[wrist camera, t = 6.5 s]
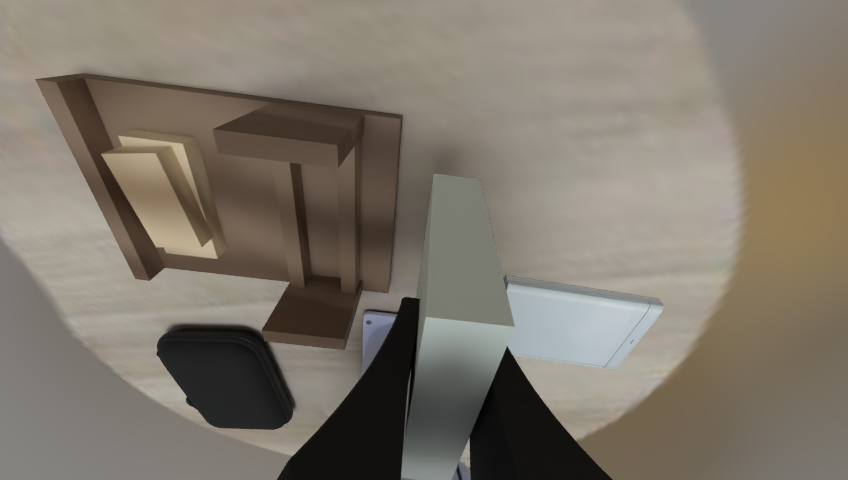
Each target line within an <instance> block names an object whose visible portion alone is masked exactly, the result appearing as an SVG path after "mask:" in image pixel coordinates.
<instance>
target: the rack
mask: <svg viewBox="0 0 848 480" xmlns="http://www.w3.org/2000/svg"><path fill="white" fill-rule="evenodd" d="M35 80H36V82H37V84H38V86H39V88H40V90H41V92H42V94H43V96H44V98H45V100H46V102H47V104H48V106H49V107H50V109H51V111H52V113H53V115H54V117H55V119H56V121H57V123H58V125H59V127H60V129H61V131H62V133H63V135H64V137H65V139H66V141H67V143H68V145H69V147H70V149H71V151H72V153H73V155H74V157H75V159H76V161H77V163H78V165H79V167H80V169H81V171H82V173H83V175H84V177H85V179H86V181H87V183H88V185H89V187H90V189H91V191H92V193H93V195H94V197H95V199H96V201H97V203H98V205H99V207H100V209H101V211H102V213H103V215H104V217H105V219H106V221H107V223H108V225H109V227H110V229H111V231H112V233H113V235H114V237H115V239H116V241H117V243H118V245H119V247H120V249H121V251H122V253H123V255H124V257H125V259H126V261H127V263H128V265H129V267H130V269H131V271H132V273H133V275H134V277H135V279H140V280H149V281H150V280H151V279H152V278H153V277H154V276H156V275H157V274H158V273H159V272H160V271H161V270H163V269H164V268H173V269H181V270H190V271H199V272H208V273H216V274H225V275H234V276H242V277H251V278H260V279H269V280H277V281H286V282H290V283H289V285H288V287H287V288H286V290H285V292H284V294H283V295H282V297H281V299H280V300H279V302H278V304H277V305H276V307H275V309H274V310H273V312H272V314H271V316H270V317H269V319H268V321H267V322H266V324H265V326H264V327H263V329H262V334H263V338H264V341H268V342H277V343H286V344H295V345H304V346H313V347H322V348H332V349H341V350H345V347H346V343H347V340H348V337H349V333H350V330H351V326H352V323H353V320H354V316H355V313H356V310H357V306H358V303H359V300H360V296H361V293H362V290H365V291H373V292H382V293H388V291H389V286H390V275H391V262H392V248H393V235H394V221H395V208H396V194H397V181H398V167H399V154H400V140H401V127H402V115H398V114H390V113H382V112H375V111H367V110H359V109H352V108H344V107H336V106H329V105H321V104H313V103H306V102H298V101H290V100H283V99H275V98H267V97H260V96H252V95H244V94H236V93H229V92H221V91H213V90H206V89H198V88H190V87H183V86H175V85H167V84H160V83H152V82H144V81H137V80H129V79H121V78H114V77H106V76H98V75H91V74H83V73H82V74H74V75H66V76H58V77H50V78H42V79H35ZM133 130H141V131H148V132H156V133H164V134H172V135H180V136H188V137H196V138H197V141H198V145H199V148H200V152H201V156H202V159H203V163H204V166H205V170H206V174H207V177H208V181H209V185H210V188H211V192H212V195H213V199H214V203H215V206H216V210H217V214H218V217H219V221H220V224H221V228H222V232H223V235H224V239H225V242H226V246H227V250H226V251H225V252H224V253H223V254H222V255H221V256H220V257H219V258H218V259H213V258H204V257H196V256H187V255H179V254H170V253H166V252H165V249H164V247H156V246H155V245H154V243H153V241H152V240H151V238H150V236H149V235H148V233H147V231H146V229H145V228H144V226H143V224H142V223H141V221H140V219H139V218H138V216H137V214H136V212H135V211H134V209H133V207H132V206H131V204H130V202H129V201H128V199H127V197H126V196H125V194H124V192H123V190H122V189H121V187H120V185H119V184H118V182H117V180H116V179H115V177H114V175H113V173H112V172H111V170H110V168H109V167H108V165H107V163H106V162H105V160H104V158H103V156H102V155H101V154H102V153H104V152H107V151H110V150H113V149H115V148H118V147H122V144H121V142H120V139H119V137H118V135H121V134H124V133H127V132H130V131H133Z"/></svg>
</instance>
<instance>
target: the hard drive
mask: <svg viewBox="0 0 848 480" xmlns="http://www.w3.org/2000/svg"><path fill="white" fill-rule="evenodd" d="M504 283H505V287H506V291H507V296H508V300H509V304H510V308H511V312H512V317H513V321H514V325H515V328H514V330H513V333H512V335H511V338H510V340H509V343H508V345H507V346H508V348H509V350H510V351H511V353H512V355H513V356H521V357H528V358H534V359H541V360H549V361H556V362H563V363H570V364H577V365H585V366H592V367H599V368H608V369H615V368H617V367H618V366H619V365H620V363H621V362H622V361H623V360H624V359H625V357H626V356H627V355H628V354H629V353H630V351H631V350H632V349H633V348H634V346H635V345H636V344H637V343H638V341H639V340H640V339H641V338H642V337H643V335H644V334H645V333H646V332H647V330H648V329H649V328H650V327H651V325H652V324H653V323H654V322H655V320H656V319H657V318H658V317H659V315H660V314H661V313H662V311H663V308H664V305H663V304H662V302H661V301H660V300H659V299H657V298H651V297H644V296H638V295H632V294H625V293H619V292H612V291H606V290H599V289H592V288H586V287H579V286H573V285H566V284H560V283H553V282H547V281H540V280H533V279H527V278H520V277H514V276H507V275H506V277H505V279H504Z"/></svg>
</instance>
